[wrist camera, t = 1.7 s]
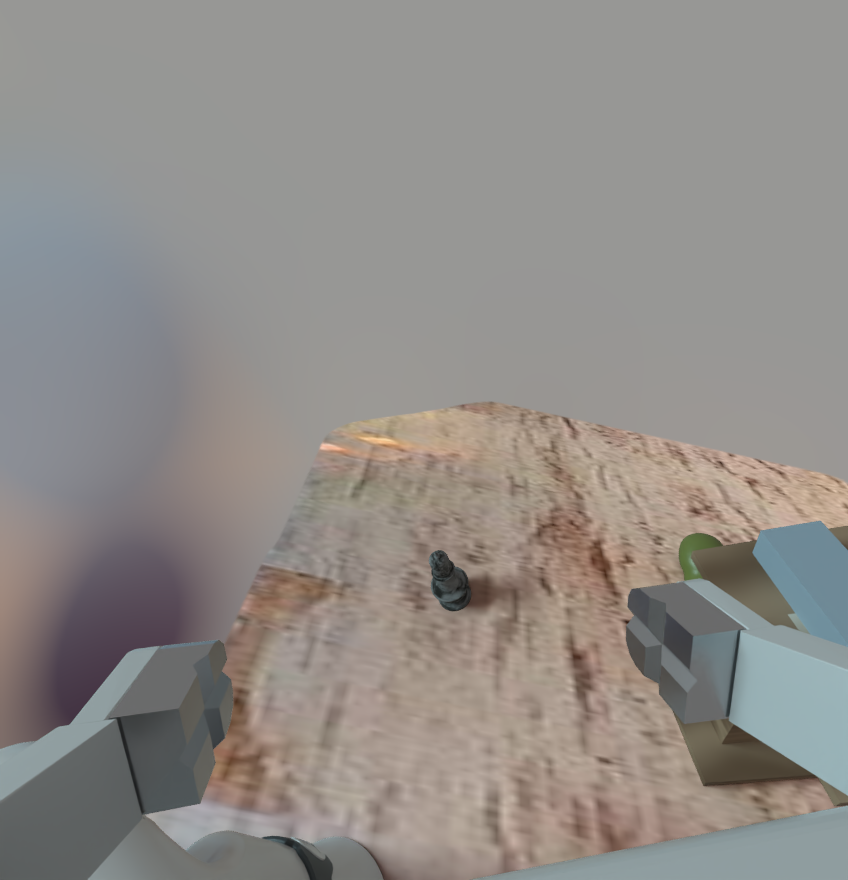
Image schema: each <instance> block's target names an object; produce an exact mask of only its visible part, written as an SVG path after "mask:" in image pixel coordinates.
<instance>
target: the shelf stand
mask: <svg viewBox="0 0 848 880" xmlns="http://www.w3.org/2000/svg"><path fill="white" fill-rule="evenodd" d="M829 531H830V532H831V533H832V534H833V535H834V536H835V537H836V538H837V539H838V540H839V541H840V542H841V544H842V545H843V546H844V547H845V548H846V549H847V550H848V526H843V527H837V528H830V529H829ZM756 542H757V541H750V542H744V543H738V544H732V545H726V546H720V547H714V548H707V549H701V550H695V551H692V554H691V559H692V561H693V562H694V564H695V566H696V568H697V569H698V571H699V573H700V574H701V576H702V578H703V579H704V580H708V581H710V582H711V583H713V584H714V585H715V586H717V587H718V588H720V589H721V590H723V591H724V592H726V593H727V594H729V595H730V596H731V597H733V598H734V599H736V600H737V601H739V602H740V603H742V604H743V605H744V606H746V607H747V608H749V609H750V610H752V611H753V612H755V613H756V614H758V615H759V616H760V617H762V618H763V619H765V620H766V621H768V622H769V623H771V624H772V625H774V626H778V625H783V626H786V627H789V628H792V629H795V630H798V631H801V632H804V633H807V634H810V633H809V632H808V630H807V629H806V627H805V626H804V625H803V623H802V622H801V620H800V619H799V618H798V616H797V615H796V613H795V612H794V611H793V609H792V608H791V606H790V605H789V604H788V602H787V601H786V599H785V598H784V597H783V595H782V594H781V592H780V591H779V590H778V588H777V587H776V585H775V584H774V583H773V581H772V580H771V578H770V577H769V576H768V574H767V573H766V571H765V570H764V569H763V567H762V566H761V564H760V563H759V562H758V560H757V559H756V557H755V556H754V555H753V553H752V552H753V550H754V547H755V544H756ZM810 635H811V634H810ZM673 713H674V715H675V718H676V720H677V723H678V725H679V727H680V730H681V732H682V735H683V737H684V740H685V742H686V745H687V747H688V749H689V752H690V754H691V757H692V759H693V762H694V764H695V767H696V769H697V771H698V774H699V776H700V779H701V781H702V784H703V786H710V785H724V784H737V783H751V782H765V781H778V780H792V779H805V778H819V777H817V776H816V775H814V774H812V773H811V772H809V771H808V770H806V769H805V768H803V767H801V766H800V765H798V764H797V763H795V762H793V761H792V760H790V759H789V758H787V757H785V756H784V755H782V754H781V753H779V752H778V751H776V750H774V749H773V748H771V747H770V746H768V745H766V744H765V743H763V742H762V741H760V740H758V739H757V738H755V737H754V736H752V735H751V734H749V733H747V732H746V731H744V730H743V729H741V728H739V727H738V726H736V725H735V724H733V723H731V722H730V721H729V718H727V719H719V720H712V721H704V722H696V723H689V724H684V723H683V722H682V721H681V720H680V718H679V717H678V716H677V715H676V714H675V712H674V711H673ZM819 780H820V782H821V784H822V785H823V787H824V789H825V791H826V792H827V794H828V796H829V797H830V799H831V801H832V803H833V804H834V806H846V805H848V796H847V795H846V794H844V793H843V792H841V791H840V790H838V789H836V788H835V787H833V786H832V785H830V784H828V783H827V782H825V781H824V780H822V779H820V778H819Z"/></svg>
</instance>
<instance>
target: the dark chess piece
mask: <svg viewBox="0 0 848 880" xmlns="http://www.w3.org/2000/svg"><path fill="white" fill-rule="evenodd" d="M429 564H430V566H431V568H432V576H433V579H432V582H431V590H432V593H433V595H434V596H435V597H436V598H437V599H438V600H439V602H440V604H441V605H442V607H444V608H445V609H447V610H449V611H457V610H460V609H463V608H464V607H465V606H466V605H467V604H468V603H469V601H470V598H471V590H470V587H469V585H468V577H467V575H466V573H465V572H464V571H463V570H462V569H460V568H458V567H455V566H454V564H453V562H452V561H450V560H449V558H448V556H447V554H446V553H445V552H444V551H441V550H438V551H435V552H433V553H432V554H431V555H430V557H429Z"/></svg>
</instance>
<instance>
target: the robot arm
mask: <svg viewBox="0 0 848 880" xmlns="http://www.w3.org/2000/svg"><path fill="white" fill-rule="evenodd" d="M628 608H629V610H630V611H631V612H632V613H633V615H634V616H633V617H632V619H631V620H630V622H629V623H628V624H627V626H626V642H627V646H628V649H629V653H630V656H631V658H632V659H633V661H634V663H635V665H636V666H637V668H638V669H639V670H640V671H641V673H642V674H643V675H644V676H646V677H647V678H649V679H651V680H653V681H655V682H657V683H659V695H660V696H661V697H662V698H663V699H664V700H665V702H666V703H667V704H668V705H669V706H670V708H671V709H672V710H673V711H674V712H675V714H676V715H677V716H678V717H679V718H680V720H681V721H682V722H683V723H684V724H689V723H696V722H704V721H712V720H719V719H727V718H729V721H730V722H731V723H733V724H735V725H736V726H738V727H739V728H741V729H743V730H744V731H746V732H747V733H749V734H751V735H752V736H754V737H755V738H757V739H758V740H760V741H762V742H763V743H765V744H766V745H768V746H770V747H771V748H773V749H774V750H776V751H778V752H779V753H781V754H782V755H784V756H785V757H787V758H789V759H790V760H792V761H793V762H795V763H797V764H798V765H800V766H801V767H803V768H805V769H806V770H808V771H809V772H811V773H812V774H814V775H816V776H817V777H819V778H820V779H822V780H824V781H825V782H827V783H828V784H830V785H832V786H833V787H835V788H836V789H838V790H840V791H841V792H843V793H844V794H846V795H847V796H848V647H846V646H843V645H840V644H837V643H834V642H831V641H828V640H825V639H822V638H819V637H816V636H813V635H810V634H807V633H804V632H801V631H798V630H795V629H792V628H789V627H786V626H783V625H778V626H774V625H772V624H771V623H769V622H768V621H766V620H765V619H763V618H762V617H760V616H759V615H758V614H756V613H755V612H753V611H752V610H750V609H749V608H747V607H746V606H744V605H743V604H742V603H740V602H739V601H737V600H736V599H734V598H733V597H731V596H730V595H729V594H727V593H726V592H724V591H723V590H721V589H720V588H718V587H717V586H715V585H714V584H713V583H711V582H710V581H708V580H704V579H700V578H699V579H693V580H687V581H680V582H677V583H672V584H664V585H657V586H650V587H642V588H635V589H632V590H631V592H630V594H629V596H628ZM226 661H227V656H226V651H225V647H224V644H223V643H222V642H221V641H220V640H214V641H205V642H194V643H185V644H175V645H165V646H157V647H149V648H141V649H135V650H133V651H131V652H129V653H127V654H126V655H125V657H124V658H123V659H122V660H121V662H120V663H119V664H118V665H117V667H116V668H115V669H114V670H113V671H112V673H111V674H110V675H109V676H108V678H107V679H106V680H105V681H104V683H103V684H102V685H101V686H100V688H99V689H98V690H97V691H96V693H95V694H94V695H93V696H92V698H91V699H90V700H89V701H88V703H87V704H86V705H85V706H84V708H83V709H82V710H81V711H80V713H79V714H78V715H77V717H75V719H74V720H73V721H72V722H71V724H70V725H68V726H61V727H58V728H56V729H55V730H53V731H52V732H50V733H48V734H47V735H45V736H44V737H42V738H41V739H39V740H38V741H34V742H25V743H20V744H16V745H12V746H8V747H5V748H3V749H0V880H384V879H383V876H382V874H381V872H380V869H379V867H378V865H377V864H376V862H375V860H374V859H373V857H372V856H371V855H370V854H369V852H368V851H367V850H366V849H365V848H364V847H363V846H361V845H360V844H359V843H357V842H355V841H353V840H351V839H348V838H344V837H329V838H325V839H322V840H320V841H317V842H315V843H314V844H312V843H310V842H307V841H304V840H301V839H298V838H294V837H291V838H286V837H280V836H268V837H263V838H258V837H254V836H250V835H246V834H242V833H238V832H234V831H220V832H215V833H212V834H209V835H207V836H205V837H203V838H201V839H199V840H198V841H196V842H195V843H194V844H192V845H191V846H190V847H189V848H187V849H186V850H184V849H183V848H182V847H181V846H179V845H178V844H177V843H176V842H175V841H173V840H172V839H171V838H170V837H169V836H168V835H166V834H165V833H164V832H163V831H162V830H161V829H160V828H159V827H158V826H157V825H156V823H155V822H154V821H152V820H151V819H149V818H147V817H146V815H145V814H149V813H155V812H160V811H165V810H170V809H175V808H180V807H185V806H190V805H195V804H200V803H201V800H202V797H203V795H204V792H205V789H206V787H207V784H208V782H209V779H210V776H211V774H212V771H213V768H214V766H215V763H216V762H215V757H214V752H213V749H214V748H215V747H216V746H217V745H218V744H219V743H220V742H221V741H222V740H223V739H224V738H225V736H226V734H227V731H228V728H229V725H230V721H231V715H232V709H233V688H232V682H231V679H230V678H229V677H228V676H227V675H225V674H224V673H223V672H222V669H223V667H224V665H225V663H226ZM471 880H848V806H844V807H838V808H833V809H828V810H823V811H818V812H813V813H808V814H803V815H798V816H792V817H787V818H782V819H777V820H772V821H767V822H762V823H757V824H752V825H746V826H741V827H736V828H731V829H726V830H721V831H716V832H711V833H706V834H701V835H695V836H690V837H685V838H680V839H675V840H670V841H665V842H660V843H655V844H649V845H644V846H639V847H634V848H629V849H624V850H619V851H614V852H609V853H604V854H599V855H594V856H588V857H583V858H578V859H573V860H568V861H563V862H558V863H553V864H548V865H543V866H538V867H532V868H527V869H522V870H517V871H512V872H507V873H502V874H497V875H492V876H487V877H482V878H477V879H471Z"/></svg>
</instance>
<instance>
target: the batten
mask: <svg viewBox="0 0 848 880" xmlns="http://www.w3.org/2000/svg"><path fill="white" fill-rule="evenodd" d="M752 553H753V555H754V556H755V557H756V559H757V560H758V562H759V563H760V564H761V566H762V567H763V569H764V570H765V571H766V573H767V574H768V576H769V577H770V578H771V580H772V581H773V583H774V584H775V585H776V587H777V588H778V590H779V591H780V592H781V594H782V595H783V597H784V598H785V599H786V601H787V602H788V604H789V605H790V606H791V608H792V609H793V611H794V612H795V613H796V615H797V616H798V618H799V619H800V620H801V622H802V623H803V625H804V626H805V627H806V629H807V630H808V632H809V633H810V634H811V635H813V636H816V637H819V638H822V639H825V640H828V641H831V642H834V643H837V644H840V645H843V646H846V647H848V550H847V549H846V548H845V547H844V546H843V545H842V544H841V542H840V541H839V540H838V539H837V538H836V537H835V536H834V535H833V534H832V533H831V532H830V531H829V529H828V528H827V527H826V526H825V525H824V524H823V523H822V522H821V521H816V522H810V523H804V524H798V525H792V526H786V527H780V528H774V529H768V530H762V531H761V532H760V534H759V537H758V539H757V542H756V544H755V547H754V550H753V552H752Z"/></svg>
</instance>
